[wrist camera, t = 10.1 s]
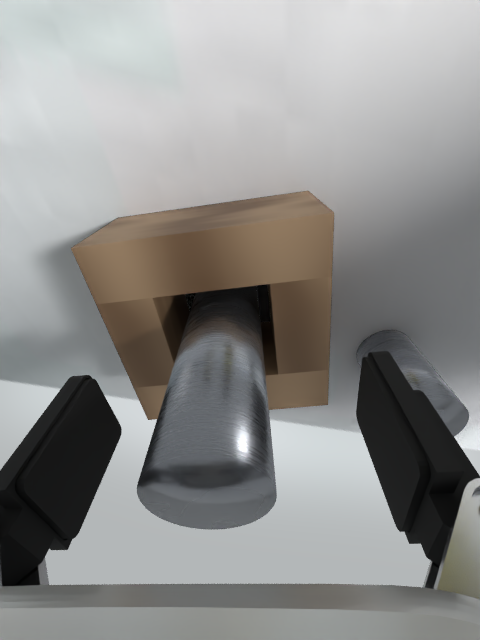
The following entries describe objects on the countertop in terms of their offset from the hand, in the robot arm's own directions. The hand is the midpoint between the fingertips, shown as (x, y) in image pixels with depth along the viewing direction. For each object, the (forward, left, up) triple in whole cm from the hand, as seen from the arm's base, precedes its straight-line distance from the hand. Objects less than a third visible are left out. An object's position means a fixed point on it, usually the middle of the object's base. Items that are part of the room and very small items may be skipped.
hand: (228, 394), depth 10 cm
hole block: (+1, 0, -9) cm, 9 cm away
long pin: (0, 0, -9) cm, 9 cm away
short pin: (-9, +6, -9) cm, 14 cm away
